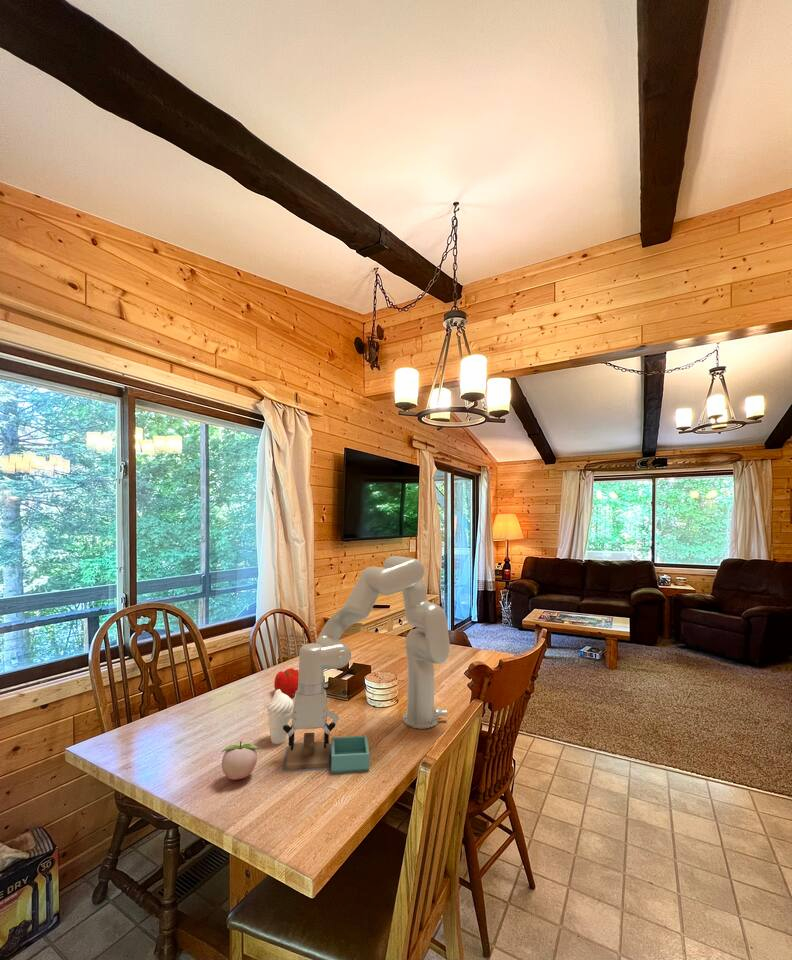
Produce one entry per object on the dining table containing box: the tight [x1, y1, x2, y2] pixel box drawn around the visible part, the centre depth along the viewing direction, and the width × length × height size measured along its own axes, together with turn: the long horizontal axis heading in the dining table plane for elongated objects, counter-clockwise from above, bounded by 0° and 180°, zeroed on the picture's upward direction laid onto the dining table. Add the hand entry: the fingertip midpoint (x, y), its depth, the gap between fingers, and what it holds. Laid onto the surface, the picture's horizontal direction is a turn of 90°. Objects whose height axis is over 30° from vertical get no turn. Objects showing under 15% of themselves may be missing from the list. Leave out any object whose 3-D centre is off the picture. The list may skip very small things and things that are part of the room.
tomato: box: [273, 667, 299, 697], centre depth 176 cm, size 11×12×9 cm
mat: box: [281, 743, 332, 773], centre depth 129 cm, size 14×14×1 cm
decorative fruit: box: [221, 741, 259, 781], centre depth 118 cm, size 9×8×10 cm
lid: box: [286, 732, 330, 770], centre depth 129 cm, size 12×12×6 cm
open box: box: [330, 735, 370, 775], centre depth 127 cm, size 11×11×5 cm
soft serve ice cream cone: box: [266, 689, 294, 745], centre depth 139 cm, size 8×8×16 cm
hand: (308, 746), depth 129 cm, fingers open, 9 cm apart
